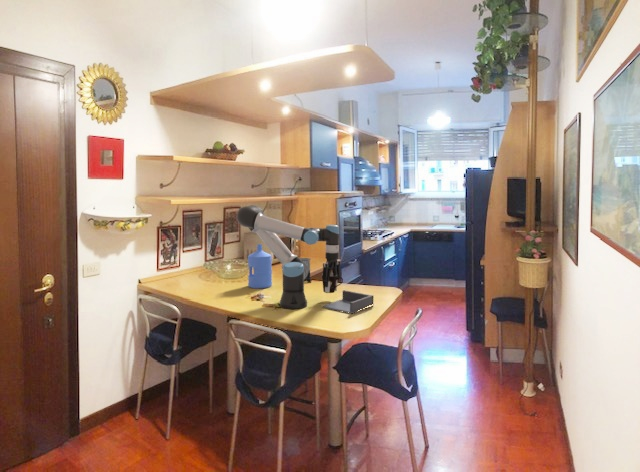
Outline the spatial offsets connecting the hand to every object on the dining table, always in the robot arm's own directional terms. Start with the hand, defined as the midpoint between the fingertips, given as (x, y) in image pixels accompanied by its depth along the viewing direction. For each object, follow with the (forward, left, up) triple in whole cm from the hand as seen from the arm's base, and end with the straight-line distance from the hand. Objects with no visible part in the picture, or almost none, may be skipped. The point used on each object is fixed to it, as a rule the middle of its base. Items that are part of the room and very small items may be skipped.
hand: (331, 291), depth 247 cm
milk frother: (+33, +49, -6) cm, 60 cm away
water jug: (-1, +59, -6) cm, 60 cm away
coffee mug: (0, 0, -1) cm, 1 cm away
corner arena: (-5, -17, -5) cm, 18 cm away
